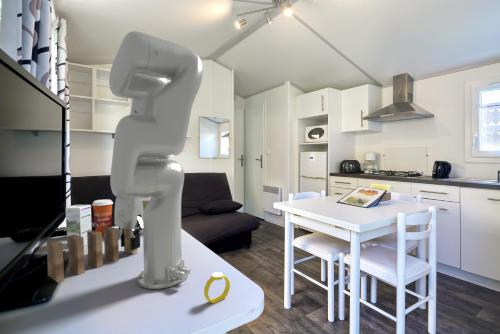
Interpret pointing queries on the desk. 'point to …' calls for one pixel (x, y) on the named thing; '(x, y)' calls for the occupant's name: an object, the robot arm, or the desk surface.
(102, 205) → the paper cup
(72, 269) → the tile
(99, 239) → the tile
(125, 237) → the tile
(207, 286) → the gold ring
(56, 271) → the wooden domino block
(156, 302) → the desk surface
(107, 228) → the tile
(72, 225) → the syrup box
